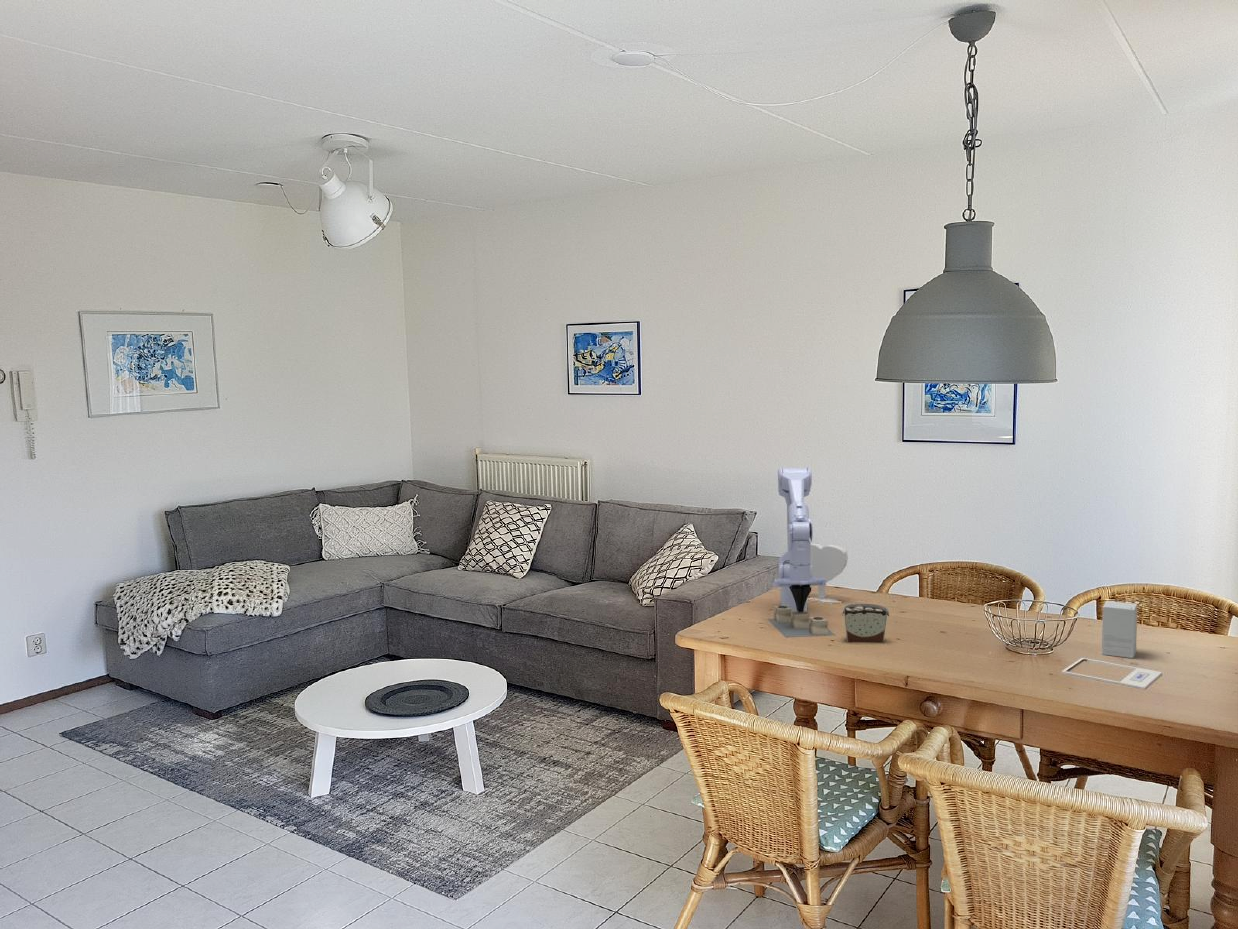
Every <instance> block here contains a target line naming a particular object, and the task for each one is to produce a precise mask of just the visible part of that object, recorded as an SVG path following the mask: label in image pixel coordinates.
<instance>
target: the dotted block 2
mask: <svg viewBox="0 0 1238 929" xmlns="http://www.w3.org/2000/svg"><path fill="white" fill-rule="evenodd" d="M828 622H829V620H828V619H827V618H825V617H824V616H809V632H810V633H812V634H813V635H827V634H828V629H829V628H828V625H829V623H828Z"/></svg>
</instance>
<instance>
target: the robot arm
mask: <svg viewBox="0 0 1238 929" xmlns="http://www.w3.org/2000/svg"><path fill="white" fill-rule="evenodd" d="M812 479H813V477H812V469H811V468H810V467H808V466H807V467H779V468H778V470H777V484H778V485H777V487H778V489H777V490H778V495H779V496H780V497H782V498H784V500H785V503H786V524H787V525H786V529H787V530H786V531H787V551H786V552H784V553H783V554H782V555H780V556H779V559H778V570H777V571H778V573H777V574H778V576H777V577H778V578H776V579H774V580H773V586H774V587H775V588H777V589H778V588H780V606H784V605H788V606H789V607H790V608H791V609H792V611H798V612H804V611H806V612H807V613H808V601H807V598H808V597H810V596H809V595H810V594H811V592H812V587H811V586H819V585H822V586H825V587H826V586H827V582H826V579H825V578H816V577H812V564H811V543H812V542H813V537H814V536H813V534H814V530H813V523H812V521H811V518H810V512H809V511H810V510H809V506H808V505H807V504H806V503H805V500H804V499H805V498H806V497H808V496H809V495H810V492H811V489H812V488H811V487H812V483H813V482H812V481H813V480H812Z"/></svg>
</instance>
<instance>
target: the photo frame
mask: <svg viewBox="0 0 1238 929" xmlns="http://www.w3.org/2000/svg"><path fill="white" fill-rule="evenodd" d="M1082 661H1087V662H1089V663H1095V664H1101V665H1106V666H1110V667H1111V666H1112V667H1117V668H1123V669H1128V670H1131V672H1130V673H1129V674H1127V676H1125V677H1124V678H1122V679H1121V680H1120V681H1118V680H1113V679H1108V678H1103V677H1102V678H1101V677H1096V676H1092V675H1087V674H1082V673H1081V674H1080V673H1076V672H1071V671H1068V670H1069V669H1070V668H1072V667H1074V666H1075V665H1076V664H1078V663H1080V662H1082ZM1132 670H1133V671H1132ZM1061 674H1063V675H1067V674H1068V675H1069V676H1073V677H1078V678H1083V679H1087V678H1088V680H1094V681H1100V682H1104V683H1109V684H1113V685H1118V686H1119V685H1120V686H1124V687H1130V688H1134V689H1139V690H1145V689H1147V688H1148V687H1149V686H1150V685H1152V684H1153V683H1154V682H1155V681H1156V680H1157V679H1158V678H1159V677H1160V676H1161V674H1162V675H1163V672H1162V671H1158V670H1152V669H1147V668H1141V667H1135V666H1130V665H1125V664H1120V663H1114V662H1108V661H1102V660H1099V659H1098V660H1097V659H1093V658H1087V657H1080V658H1079V659H1078V660H1076V661H1075V662H1072V663H1071V664H1070V665H1068V666H1067V667H1066V668H1064V669H1063V670H1061Z"/></svg>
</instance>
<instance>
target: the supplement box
mask: <svg viewBox="0 0 1238 929" xmlns="http://www.w3.org/2000/svg"><path fill="white" fill-rule="evenodd" d="M1101 625H1102V629H1101V633H1102V634H1101V635H1102V637H1101V655H1105V656H1112V657H1118V658H1119V657H1120V658H1128V659H1129V658H1130V659H1134V658H1135V655H1136V654H1137V653H1136V652H1137V638H1138V637H1137V633H1138V632H1137V627H1138V603H1134V602H1133V603H1132V602H1123V601H1113V600H1111V601H1110V600H1106V602H1104V604H1103V606H1102V624H1101Z"/></svg>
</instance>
